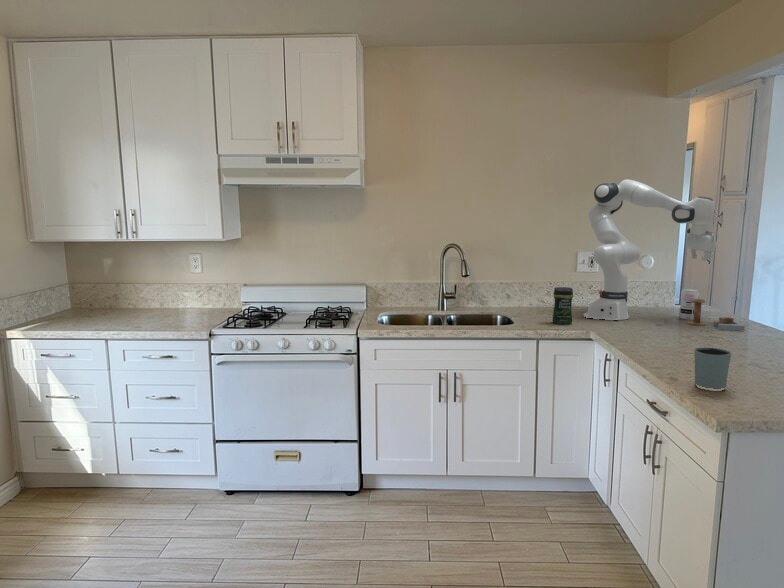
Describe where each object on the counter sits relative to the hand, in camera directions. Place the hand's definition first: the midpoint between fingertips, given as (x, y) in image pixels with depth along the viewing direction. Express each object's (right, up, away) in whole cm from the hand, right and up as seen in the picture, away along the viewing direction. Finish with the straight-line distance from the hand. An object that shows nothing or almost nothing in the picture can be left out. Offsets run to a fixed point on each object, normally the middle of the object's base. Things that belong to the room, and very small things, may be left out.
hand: (699, 259), depth 261 cm
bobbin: (+1, -32, +4) cm, 32 cm away
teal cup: (-47, -47, -88) cm, 110 cm away
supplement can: (+4, -30, +18) cm, 35 cm away
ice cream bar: (+8, -33, -5) cm, 34 cm away
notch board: (+10, -33, -6) cm, 35 cm away
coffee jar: (-62, -32, +12) cm, 71 cm away
